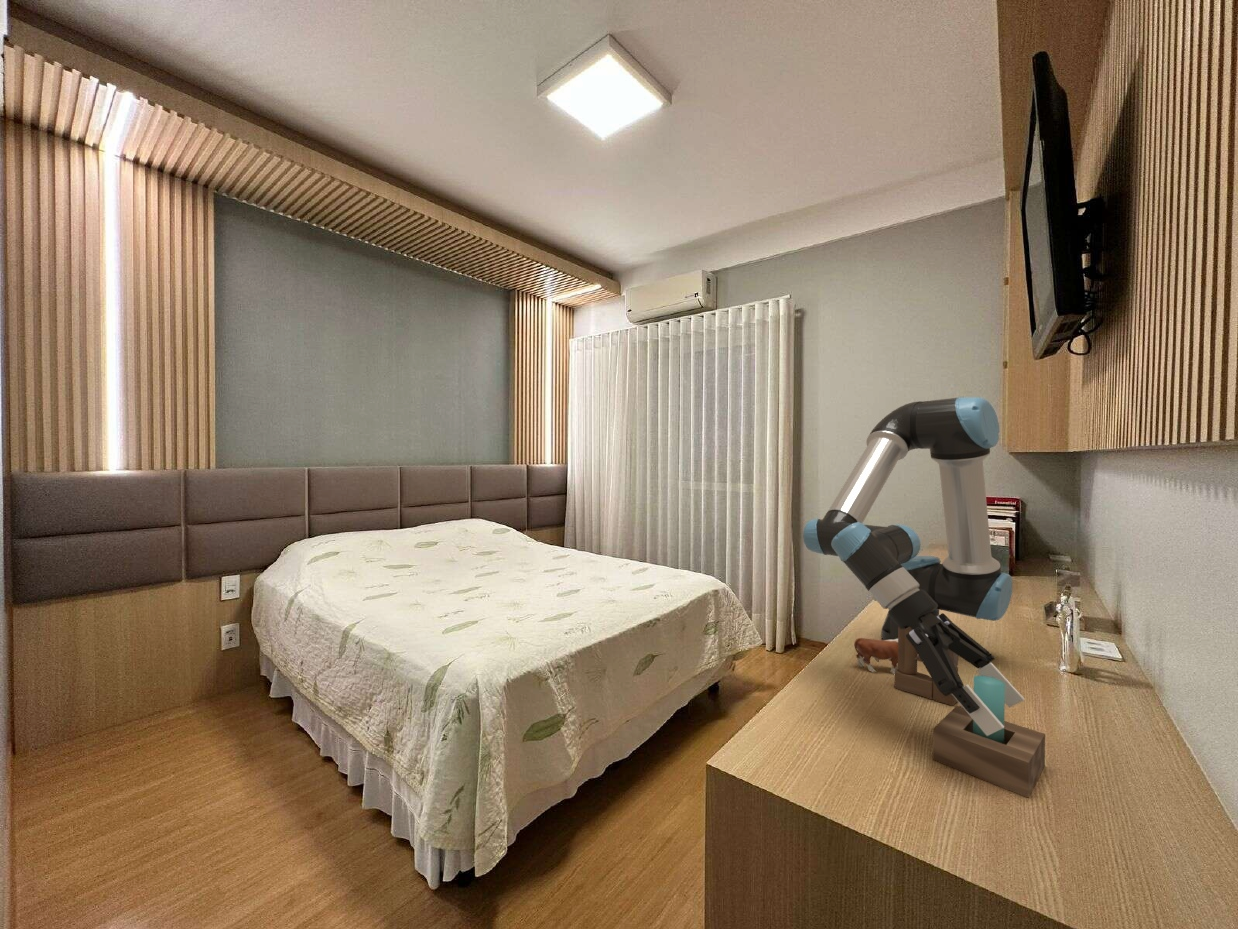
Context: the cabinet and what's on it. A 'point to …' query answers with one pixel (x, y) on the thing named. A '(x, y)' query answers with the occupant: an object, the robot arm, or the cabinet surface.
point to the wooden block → (914, 680)
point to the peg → (991, 703)
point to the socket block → (990, 752)
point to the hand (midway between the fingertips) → (1007, 717)
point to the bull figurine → (877, 652)
